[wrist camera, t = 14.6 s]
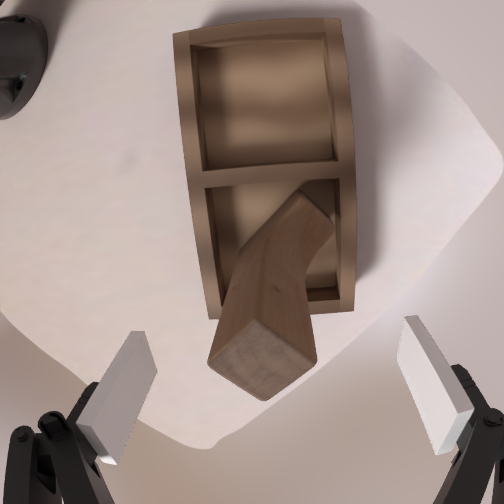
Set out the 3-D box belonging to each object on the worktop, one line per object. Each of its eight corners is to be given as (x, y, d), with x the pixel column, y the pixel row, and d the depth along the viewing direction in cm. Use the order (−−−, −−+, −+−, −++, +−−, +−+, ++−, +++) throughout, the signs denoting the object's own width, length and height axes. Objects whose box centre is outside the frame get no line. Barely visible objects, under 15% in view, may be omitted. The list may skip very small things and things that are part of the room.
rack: (185, 45, 28) (172, 33, 23) (331, 32, 26) (340, 18, 22) (216, 298, 37) (209, 319, 33) (345, 291, 36) (353, 311, 32)
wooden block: (297, 186, 31) (325, 251, 14) (330, 217, 32) (386, 309, 15) (237, 251, 34) (202, 366, 17) (270, 278, 34) (264, 405, 18)
